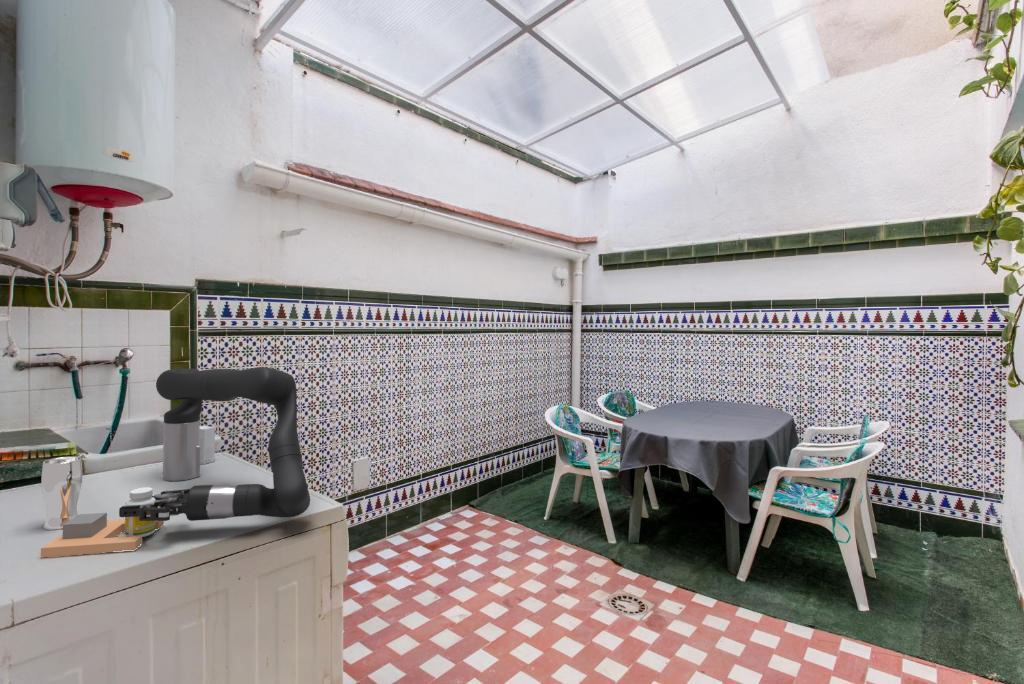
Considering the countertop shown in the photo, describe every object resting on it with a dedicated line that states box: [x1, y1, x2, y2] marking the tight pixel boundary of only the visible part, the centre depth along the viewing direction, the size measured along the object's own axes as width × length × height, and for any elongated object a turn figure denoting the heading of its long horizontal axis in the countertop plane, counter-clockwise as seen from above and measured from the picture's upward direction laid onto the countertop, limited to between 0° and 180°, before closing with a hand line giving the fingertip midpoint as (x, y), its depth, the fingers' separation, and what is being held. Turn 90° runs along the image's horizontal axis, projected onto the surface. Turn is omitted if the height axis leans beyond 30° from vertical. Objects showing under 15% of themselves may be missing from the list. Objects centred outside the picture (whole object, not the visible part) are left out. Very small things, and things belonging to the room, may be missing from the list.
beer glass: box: [40, 456, 83, 531], centre depth 114 cm, size 7×7×15 cm
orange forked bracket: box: [40, 512, 165, 559], centre depth 106 cm, size 16×14×5 cm
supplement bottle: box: [124, 486, 156, 538], centre depth 108 cm, size 5×5×10 cm
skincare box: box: [199, 425, 216, 465], centre depth 169 cm, size 6×4×12 cm
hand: (127, 506), depth 107 cm, fingers closed on supplement bottle, 5 cm apart
